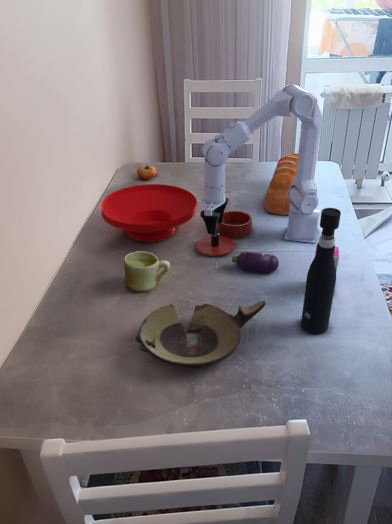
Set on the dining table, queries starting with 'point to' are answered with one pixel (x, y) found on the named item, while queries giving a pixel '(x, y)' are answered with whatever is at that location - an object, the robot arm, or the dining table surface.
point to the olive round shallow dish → (205, 319)
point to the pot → (235, 224)
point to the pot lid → (215, 245)
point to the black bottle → (321, 277)
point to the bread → (281, 185)
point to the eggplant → (256, 261)
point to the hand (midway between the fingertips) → (215, 227)
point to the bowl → (149, 210)
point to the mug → (143, 270)
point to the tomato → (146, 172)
